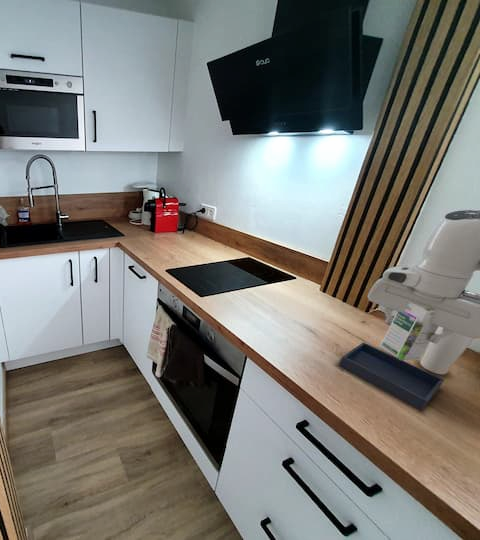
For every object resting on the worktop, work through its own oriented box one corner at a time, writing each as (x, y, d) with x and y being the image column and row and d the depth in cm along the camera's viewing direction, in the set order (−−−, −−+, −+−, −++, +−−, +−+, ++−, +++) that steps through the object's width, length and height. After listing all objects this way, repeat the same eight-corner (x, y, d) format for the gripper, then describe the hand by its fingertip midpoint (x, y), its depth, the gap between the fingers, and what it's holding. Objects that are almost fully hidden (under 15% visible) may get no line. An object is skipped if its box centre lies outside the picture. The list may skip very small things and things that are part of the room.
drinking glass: (416, 356, 84) (440, 313, 78) (449, 369, 79) (477, 323, 74) (415, 368, 79) (440, 322, 73) (450, 381, 75) (480, 334, 69)
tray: (438, 388, 73) (444, 379, 71) (421, 410, 66) (427, 401, 65) (359, 350, 86) (363, 341, 85) (338, 365, 80) (342, 356, 78)
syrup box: (378, 346, 75) (401, 298, 69) (398, 345, 76) (423, 297, 70) (400, 361, 70) (427, 310, 64) (421, 359, 71) (450, 309, 65)
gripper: (511, 298, 58) (475, 352, 64) (386, 264, 74) (366, 310, 80) (505, 306, 55) (468, 362, 61) (376, 269, 71) (356, 316, 77)
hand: (409, 332), depth 70 cm, fingers closed on syrup box, 7 cm apart
